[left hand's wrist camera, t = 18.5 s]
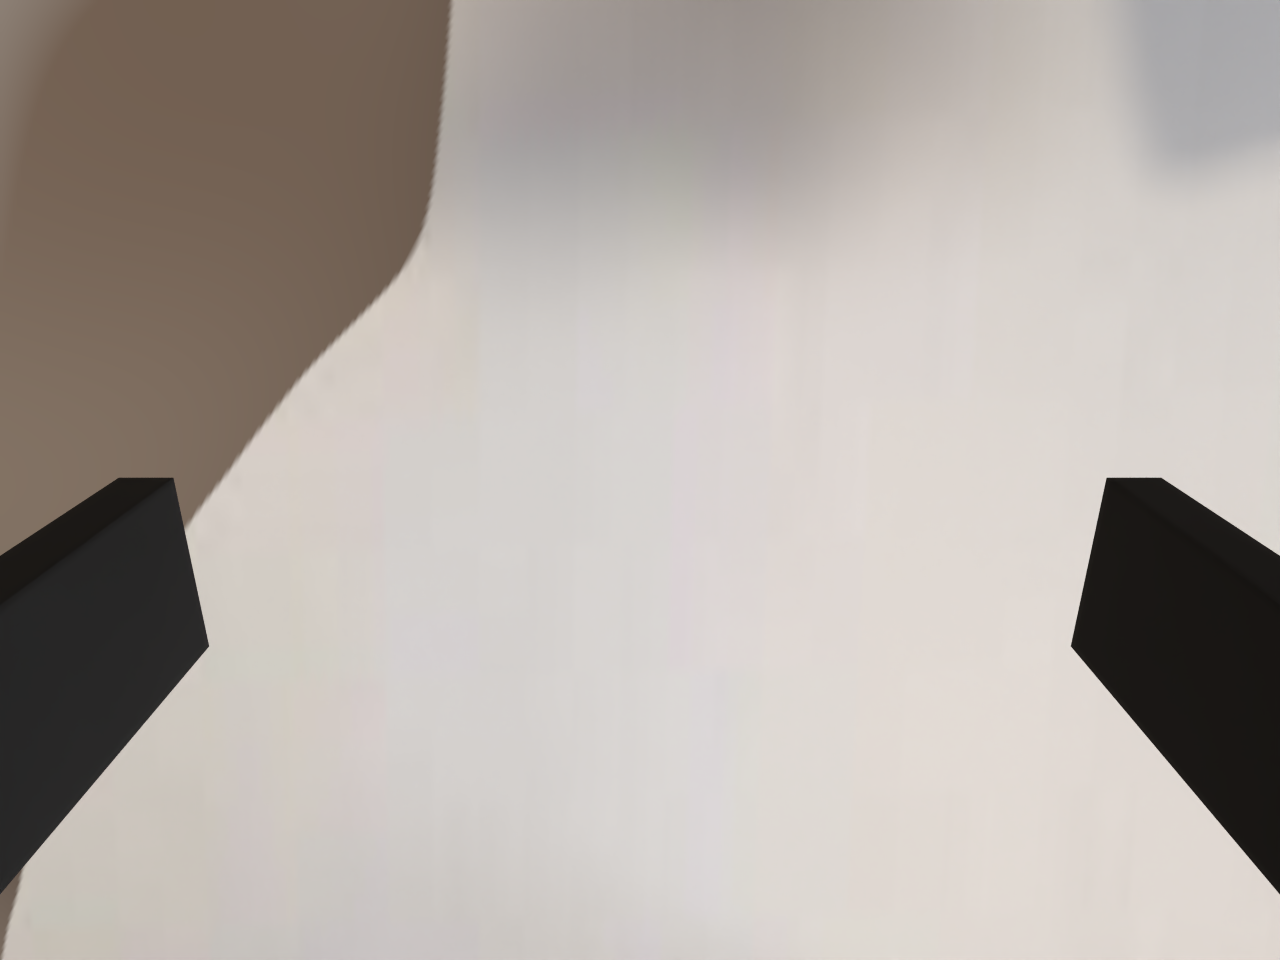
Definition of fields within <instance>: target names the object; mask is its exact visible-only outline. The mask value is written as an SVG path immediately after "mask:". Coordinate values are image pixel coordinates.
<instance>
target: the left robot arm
mask: <svg viewBox="0 0 1280 960" xmlns="http://www.w3.org/2000/svg"><path fill="white" fill-rule="evenodd" d="M208 647H209V644H208V639H207V634H206V629H205V625H204V620H203V615H202V611H201V606H200V601H199V597H198V592H197V587H196V582H195V578H194V573H193V568H192V564H191V559H190V554H189V549H188V545H187V540H186V535H185V531H184V526H183V521H182V516H181V512H180V507H179V502H178V498H177V493H176V488H175V483H174V479H173V478H118V479H116V480H115V481H113V482H112V483H110V484H109V485H107V486H106V487H104V488H103V489H101V490H100V491H98V492H97V493H95V494H93V495H92V496H90V497H89V498H87V499H86V500H84V501H83V502H81V503H80V504H78V505H77V506H75V507H74V508H72V509H71V510H69V511H68V512H66V513H65V514H63V515H62V516H60V517H59V518H57V519H56V520H54V521H53V522H51V523H49V524H48V525H46V526H45V527H43V528H42V529H40V530H39V531H37V532H36V533H34V534H33V535H31V536H30V537H28V538H27V539H25V540H24V541H22V542H21V543H19V544H17V545H16V546H14V547H13V548H11V549H10V550H8V551H7V552H5V553H4V554H2V555H1V556H0V894H1V893H2V891H3V890H4V889H5V888H6V887H7V885H8V884H9V883H10V882H11V881H12V880H13V878H14V877H15V876H16V875H17V874H18V872H19V871H20V870H21V869H22V868H23V866H24V865H25V864H26V863H27V862H28V861H29V859H30V858H31V857H32V856H33V855H34V853H35V852H36V851H37V850H38V849H39V848H40V846H41V845H42V844H43V843H44V842H45V840H46V839H47V838H48V837H49V836H50V834H51V833H52V832H53V831H54V830H55V829H56V827H57V826H58V825H59V824H60V823H61V821H62V820H63V819H64V818H65V817H66V815H67V814H68V813H69V812H70V811H71V810H72V808H73V807H74V806H75V805H76V804H77V802H78V801H79V800H80V799H81V798H82V796H83V795H84V794H85V793H86V792H87V791H88V789H89V788H90V787H91V786H92V785H93V783H94V782H95V781H96V780H97V779H98V777H99V776H100V775H101V774H102V773H103V772H104V770H105V769H106V768H107V767H108V766H109V764H110V763H111V762H112V761H113V760H114V759H115V757H116V756H117V755H118V754H119V753H120V751H121V750H122V749H123V748H124V747H125V745H126V744H127V743H128V742H129V741H130V740H131V738H132V737H133V736H134V735H135V734H136V732H137V731H138V730H139V729H140V728H141V726H142V725H143V724H144V723H145V722H146V721H147V719H148V718H149V717H150V716H151V715H152V713H153V712H154V711H155V710H156V709H157V707H158V706H159V705H160V704H161V703H162V702H163V700H164V699H165V698H166V697H167V696H168V694H169V693H170V692H171V691H172V690H173V688H174V687H175V686H176V685H177V684H178V683H179V681H180V680H181V679H182V678H183V677H184V675H185V674H186V673H187V672H188V671H189V669H190V668H191V667H192V666H193V665H194V664H195V662H196V661H197V660H198V659H199V658H200V656H201V655H202V654H203V653H204V652H205V651H206V649H207V648H208ZM1071 647H1072V648H1073V649H1074V651H1075V652H1076V653H1077V654H1078V655H1079V656H1080V658H1081V659H1082V660H1083V661H1084V662H1085V664H1086V665H1087V666H1088V667H1089V668H1090V669H1091V671H1092V672H1093V673H1094V674H1095V675H1096V677H1097V678H1098V679H1099V680H1100V681H1101V683H1102V684H1103V685H1104V686H1105V687H1106V688H1107V690H1108V691H1109V692H1110V693H1111V694H1112V696H1113V697H1114V698H1115V699H1116V700H1117V702H1118V703H1119V704H1120V705H1121V706H1122V707H1123V709H1124V710H1125V711H1126V712H1127V713H1128V715H1129V716H1130V717H1131V718H1132V719H1133V721H1134V722H1135V723H1136V724H1137V725H1138V726H1139V728H1140V729H1141V730H1142V731H1143V732H1144V734H1145V735H1146V736H1147V737H1148V738H1149V740H1150V741H1151V742H1152V743H1153V744H1154V745H1155V747H1156V748H1157V749H1158V750H1159V751H1160V753H1161V754H1162V755H1163V756H1164V757H1165V759H1166V760H1167V761H1168V762H1169V763H1170V764H1171V766H1172V767H1173V768H1174V769H1175V770H1176V772H1177V773H1178V774H1179V775H1180V776H1181V777H1182V779H1183V780H1184V781H1185V782H1186V783H1187V785H1188V786H1189V787H1190V788H1191V789H1192V791H1193V792H1194V793H1195V794H1196V795H1197V796H1198V798H1199V799H1200V800H1201V801H1202V802H1203V804H1204V805H1205V806H1206V807H1207V808H1208V810H1209V811H1210V812H1211V813H1212V814H1213V815H1214V817H1215V818H1216V819H1217V820H1218V821H1219V823H1220V824H1221V825H1222V826H1223V827H1224V829H1225V830H1226V831H1227V832H1228V833H1229V834H1230V836H1231V837H1232V838H1233V839H1234V840H1235V842H1236V843H1237V844H1238V845H1239V846H1240V848H1241V849H1242V850H1243V851H1244V852H1245V853H1246V855H1247V856H1248V857H1249V858H1250V859H1251V861H1252V862H1253V863H1254V864H1255V865H1256V866H1257V868H1258V869H1259V870H1260V871H1261V872H1262V874H1263V875H1264V876H1265V877H1266V878H1267V880H1268V881H1269V882H1270V883H1271V884H1272V885H1273V887H1274V888H1275V889H1276V890H1277V891H1278V893H1279V894H1280V556H1279V555H1278V554H1276V553H1275V552H1273V551H1272V550H1270V549H1269V548H1267V547H1266V546H1264V545H1263V544H1261V543H1259V542H1258V541H1256V540H1255V539H1253V538H1252V537H1250V536H1249V535H1247V534H1246V533H1244V532H1243V531H1241V530H1240V529H1238V528H1237V527H1235V526H1234V525H1232V524H1231V523H1229V522H1228V521H1226V520H1225V519H1223V518H1221V517H1220V516H1218V515H1217V514H1215V513H1214V512H1212V511H1211V510H1209V509H1208V508H1206V507H1205V506H1203V505H1202V504H1200V503H1199V502H1197V501H1196V500H1194V499H1193V498H1191V497H1190V496H1188V495H1187V494H1185V493H1183V492H1182V491H1180V490H1179V489H1177V488H1176V487H1174V486H1173V485H1171V484H1170V483H1168V482H1167V481H1165V480H1164V479H1162V478H1107V479H1106V483H1105V488H1104V493H1103V498H1102V502H1101V507H1100V512H1099V516H1098V521H1097V526H1096V531H1095V535H1094V540H1093V545H1092V549H1091V554H1090V559H1089V564H1088V568H1087V573H1086V578H1085V582H1084V587H1083V592H1082V597H1081V601H1080V606H1079V611H1078V615H1077V620H1076V625H1075V629H1074V634H1073V639H1072V644H1071Z"/></svg>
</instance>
